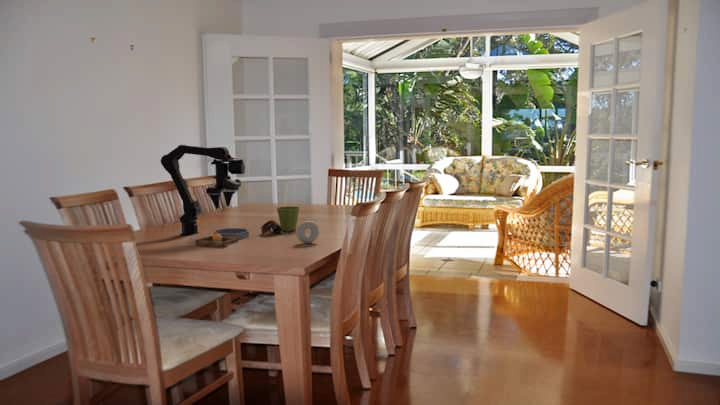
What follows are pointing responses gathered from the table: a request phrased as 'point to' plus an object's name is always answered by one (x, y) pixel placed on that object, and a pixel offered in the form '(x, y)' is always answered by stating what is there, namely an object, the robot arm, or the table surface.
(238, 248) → the table surface
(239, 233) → the bowl
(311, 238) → the donut
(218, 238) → the ball
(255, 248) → the table surface
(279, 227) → the broken clay ring
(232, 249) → the table surface
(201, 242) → the tray
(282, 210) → the plant pot
